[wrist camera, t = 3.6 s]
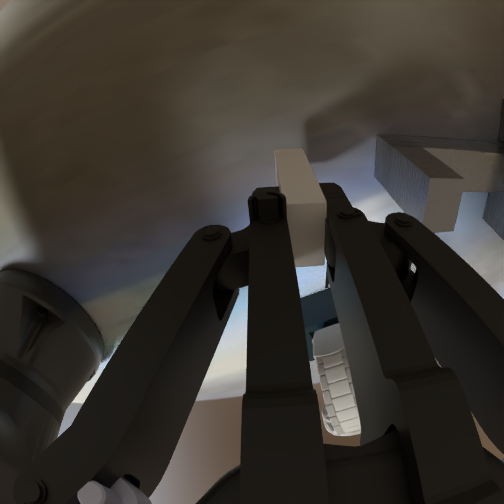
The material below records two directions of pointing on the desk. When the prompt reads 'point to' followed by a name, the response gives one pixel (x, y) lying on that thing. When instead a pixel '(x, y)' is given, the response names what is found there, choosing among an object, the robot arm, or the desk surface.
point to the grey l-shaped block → (436, 174)
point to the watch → (330, 363)
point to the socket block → (496, 198)
